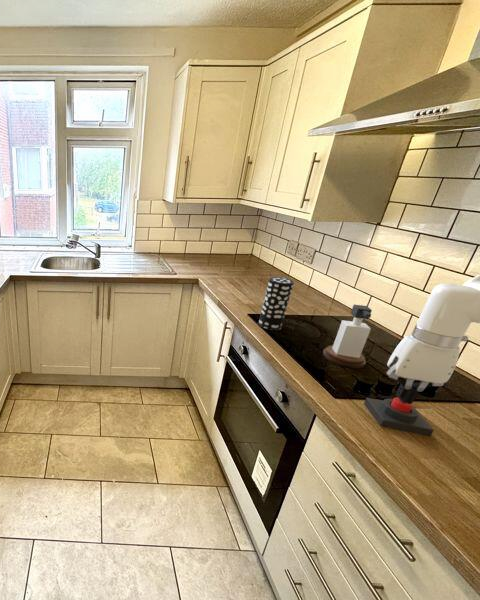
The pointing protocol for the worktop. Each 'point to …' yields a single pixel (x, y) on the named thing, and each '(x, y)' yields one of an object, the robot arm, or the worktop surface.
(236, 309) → the worktop surface
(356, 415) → the worktop surface
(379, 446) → the worktop surface
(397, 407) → the button
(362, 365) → the base
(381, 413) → the grey stepped base
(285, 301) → the spotted tube
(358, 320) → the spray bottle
